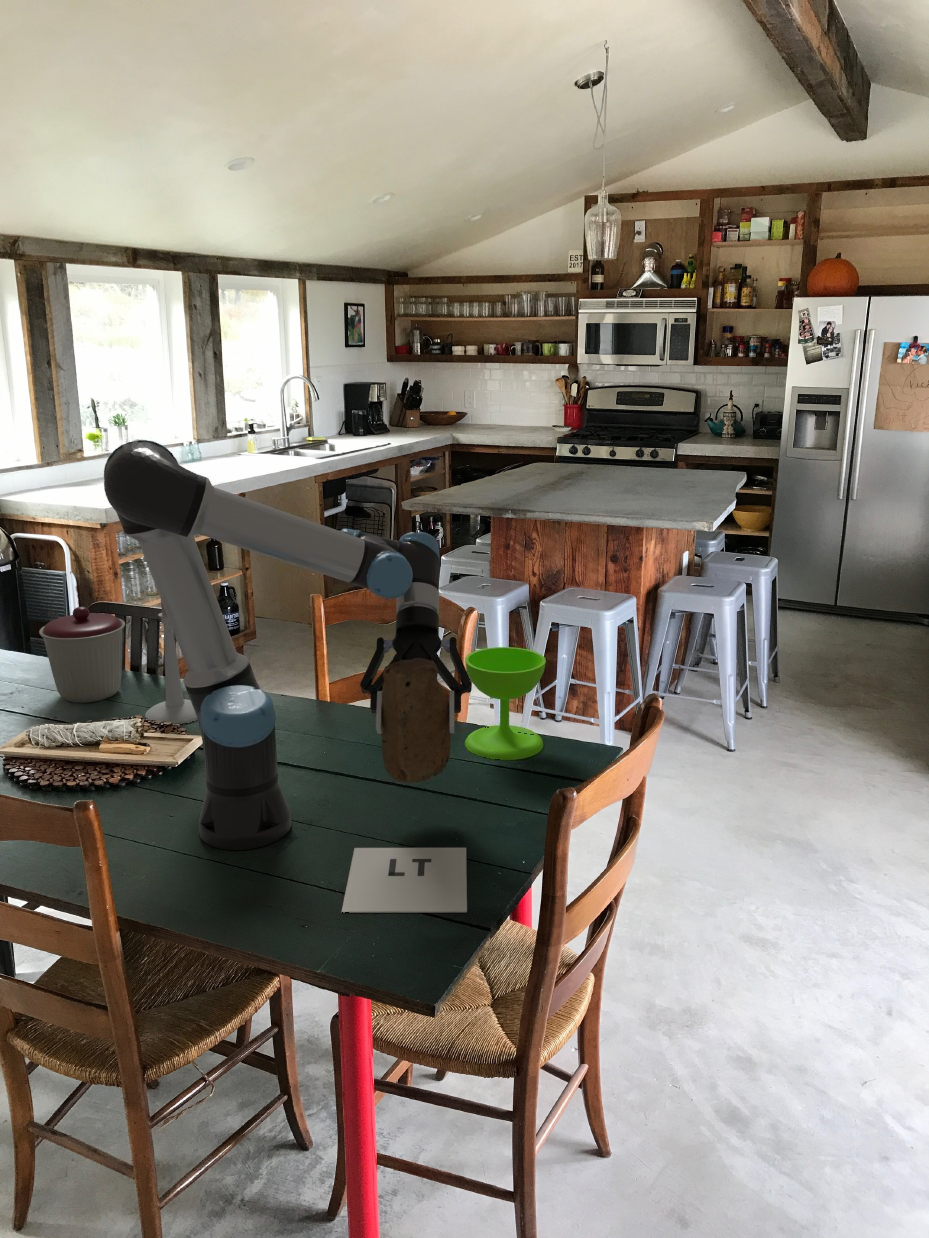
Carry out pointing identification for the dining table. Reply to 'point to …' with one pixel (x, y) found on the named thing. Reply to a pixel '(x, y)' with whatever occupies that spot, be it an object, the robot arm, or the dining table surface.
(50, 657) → the canister
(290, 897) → the dining table surface
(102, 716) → the dining table surface
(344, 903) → the tile
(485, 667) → the wineglass
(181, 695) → the candlestick
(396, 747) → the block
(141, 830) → the dining table surface
